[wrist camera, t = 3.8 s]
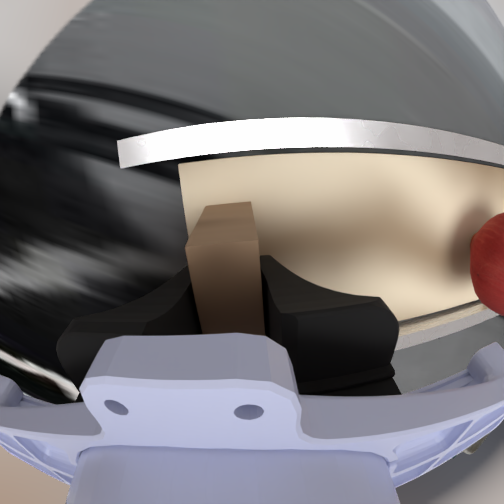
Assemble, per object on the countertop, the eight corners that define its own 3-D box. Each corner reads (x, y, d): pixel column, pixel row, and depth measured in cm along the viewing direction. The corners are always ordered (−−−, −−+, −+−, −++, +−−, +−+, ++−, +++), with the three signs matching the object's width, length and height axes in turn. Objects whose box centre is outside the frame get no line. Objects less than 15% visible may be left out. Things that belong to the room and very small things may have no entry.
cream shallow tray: (488, 291, 16) (528, 327, 11) (210, 340, 15) (202, 417, 10) (510, 170, 12) (564, 188, 7) (180, 163, 12) (137, 179, 7)
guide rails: (511, 295, 16) (521, 304, 15) (179, 359, 16) (175, 377, 15) (536, 159, 11) (549, 162, 10) (131, 140, 11) (117, 140, 10)
